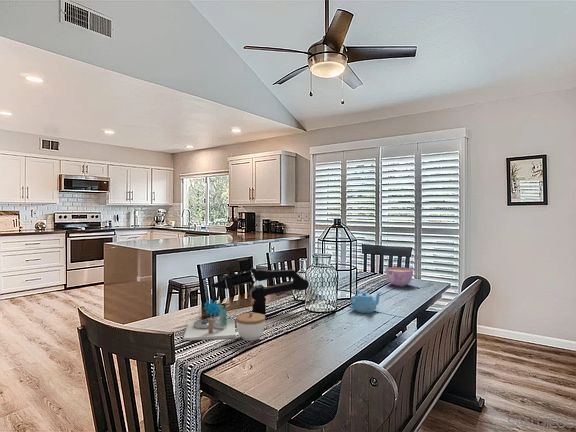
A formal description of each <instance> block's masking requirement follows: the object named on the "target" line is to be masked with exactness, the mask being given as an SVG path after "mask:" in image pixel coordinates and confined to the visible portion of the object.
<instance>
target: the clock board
mask: <svg viewBox="0 0 576 432" xmlns="http://www.w3.org/2000/svg"><path fill="white" fill-rule="evenodd" d="M207 320H208V326H209V328H205V329H199V328H195V327H194V323H195V322H196V321H188V323H187V326H186V329H185V332H184V335H183V339H182V340H183V341H184V342H187V341H186V340H190V341H201V340H202V341H203V340H204V341H205V340H219V339H221V340H222V339H235V338H236V321H235V320H236V319H227V328H225V329H219V328H213V320H214V319H213V318H212V317H211V318H208V319H207ZM214 321H215V322H216V324H220V319H219V320H214Z"/></svg>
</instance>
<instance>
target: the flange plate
mask: <svg viewBox="0 0 576 432" xmlns="http://www.w3.org/2000/svg"><path fill="white" fill-rule="evenodd" d="M227 311H228V310H227V307H223V308H221V309H220V312H219V313H220V315H219V320H220V324H216V322H215V321H216V320H214V319H213V328H219V329H225V328H227V320H228V319H227V316H228V315H227V314H228V313H227ZM194 322H195V323H194V327H195V328H199V329H205V328H209V326H208V319H201V320H200V319H199V320H197V321H194Z"/></svg>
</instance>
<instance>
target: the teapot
mask: <svg viewBox="0 0 576 432" xmlns="http://www.w3.org/2000/svg"><path fill="white" fill-rule="evenodd" d="M381 294H382V291H379V292H377V293H376V296H375V299H374V297H373V295H371V294H370V293H368V292H367V291H362V292H361V291H360V289H359V288H356V295H353V296H351V297H350V303H351V304H350V305H349V308H350V309H351V310H353V311H355V312H357V313H362V314H371V313H374V312H375V311H376V310H377V306H378V304H379V302H380V295H381Z"/></svg>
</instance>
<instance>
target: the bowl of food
mask: <svg viewBox="0 0 576 432" xmlns="http://www.w3.org/2000/svg"><path fill="white" fill-rule="evenodd" d="M384 271H385V276H386V279H387V282H389V284H391V285H393V286H394V287H405V286H406V285H409V284H410V283H411V281H412V278H413V274H414V269H413V268H411V267H410V268H409V267H402V266H400V267H399V266H395V267H394V266H391V267H389V266H388V267H386V268H384Z"/></svg>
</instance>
